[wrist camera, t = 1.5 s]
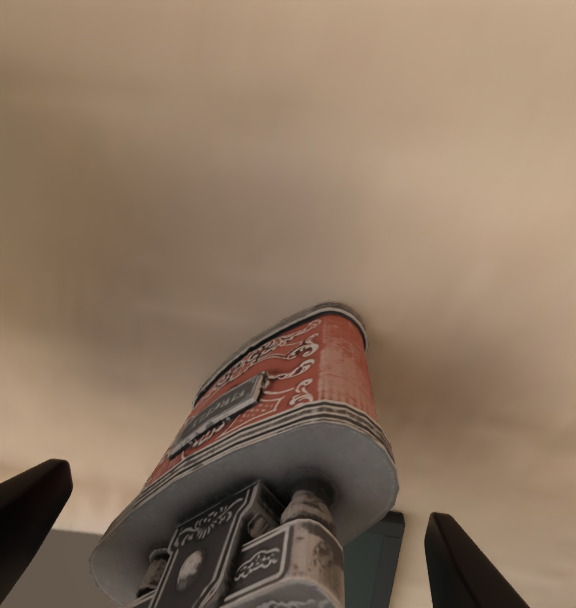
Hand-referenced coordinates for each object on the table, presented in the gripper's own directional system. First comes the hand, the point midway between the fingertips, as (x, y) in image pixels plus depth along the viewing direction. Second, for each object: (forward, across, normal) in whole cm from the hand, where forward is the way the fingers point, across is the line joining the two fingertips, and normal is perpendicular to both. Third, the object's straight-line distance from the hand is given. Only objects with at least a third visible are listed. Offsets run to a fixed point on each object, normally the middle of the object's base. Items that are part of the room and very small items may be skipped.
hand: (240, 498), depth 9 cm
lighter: (+7, 0, 0) cm, 7 cm away
